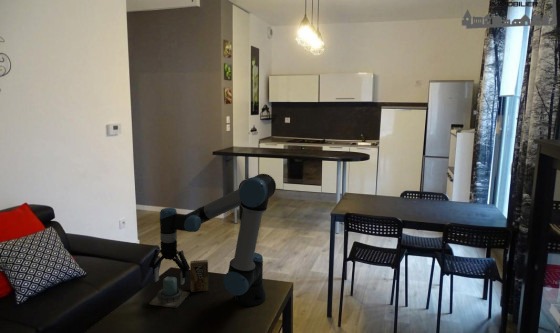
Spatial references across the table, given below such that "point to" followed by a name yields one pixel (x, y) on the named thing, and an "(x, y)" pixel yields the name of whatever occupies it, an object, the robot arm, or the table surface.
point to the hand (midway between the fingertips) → (169, 282)
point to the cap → (170, 286)
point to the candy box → (199, 275)
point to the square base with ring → (169, 299)
